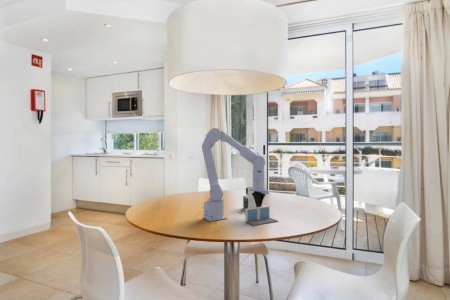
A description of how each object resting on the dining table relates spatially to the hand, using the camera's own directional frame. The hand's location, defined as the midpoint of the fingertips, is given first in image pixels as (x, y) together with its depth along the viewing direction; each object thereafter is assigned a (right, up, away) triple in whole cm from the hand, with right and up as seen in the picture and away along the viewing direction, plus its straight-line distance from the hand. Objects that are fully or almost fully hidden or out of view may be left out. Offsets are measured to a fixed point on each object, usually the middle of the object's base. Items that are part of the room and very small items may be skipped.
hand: (258, 207), depth 141 cm
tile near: (-4, -5, -7) cm, 9 cm away
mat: (0, -5, -9) cm, 10 cm away
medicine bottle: (-2, -5, +18) cm, 19 cm away
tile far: (+2, -5, -3) cm, 6 cm away
